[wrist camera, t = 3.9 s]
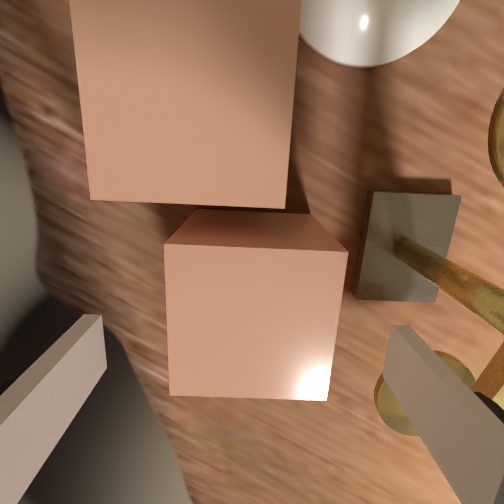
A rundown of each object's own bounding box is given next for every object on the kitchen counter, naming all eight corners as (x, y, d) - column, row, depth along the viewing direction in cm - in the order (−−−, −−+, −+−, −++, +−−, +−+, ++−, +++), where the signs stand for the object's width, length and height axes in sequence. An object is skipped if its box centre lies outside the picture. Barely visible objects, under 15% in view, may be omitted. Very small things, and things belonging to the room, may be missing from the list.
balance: (385, 84, 20) (694, -71, 6) (477, 89, 20) (984, -52, 6) (340, 365, 26) (441, 600, 13) (410, 368, 27) (586, 603, 13)
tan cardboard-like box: (147, 45, 19) (64, -42, 11) (279, 53, 19) (303, -27, 11) (153, 180, 22) (90, 199, 13) (270, 186, 22) (284, 208, 13)
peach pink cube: (196, 208, 22) (163, 243, 14) (310, 214, 23) (348, 252, 14) (197, 311, 25) (169, 395, 16) (299, 315, 25) (326, 400, 16)
